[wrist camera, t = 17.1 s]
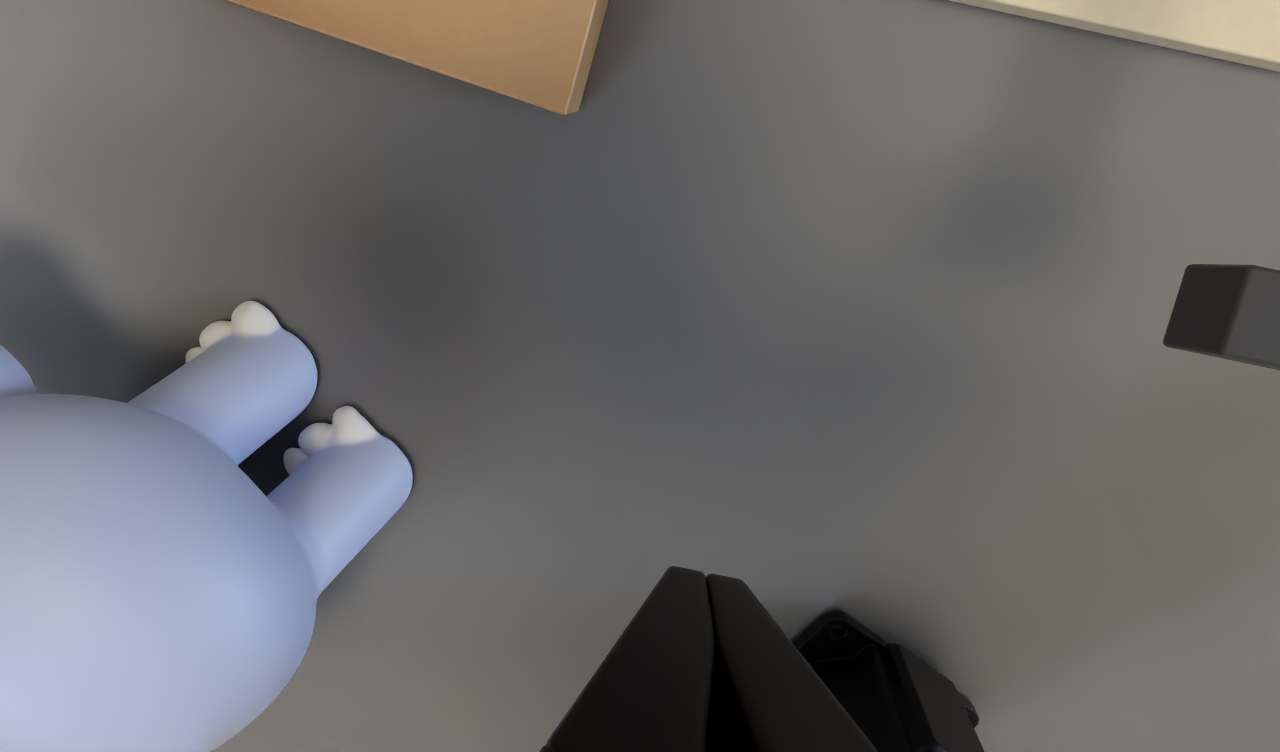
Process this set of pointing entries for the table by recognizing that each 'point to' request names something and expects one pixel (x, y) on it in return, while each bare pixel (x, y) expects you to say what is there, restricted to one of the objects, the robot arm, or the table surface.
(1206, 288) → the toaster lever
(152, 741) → the hippopotamus toy
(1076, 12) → the lever bracket
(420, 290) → the table surface
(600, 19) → the button block
